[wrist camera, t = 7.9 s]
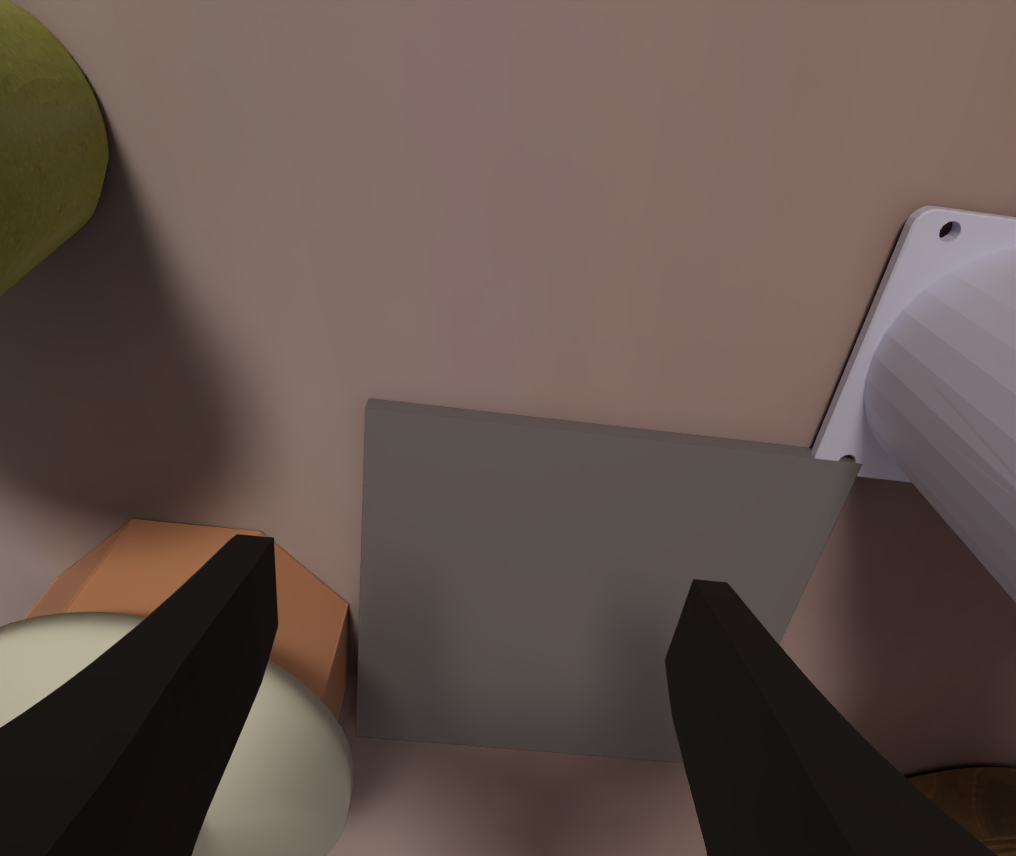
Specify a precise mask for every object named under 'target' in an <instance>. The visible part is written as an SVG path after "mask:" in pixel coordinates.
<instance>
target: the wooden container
mask: <svg viewBox="0 0 1016 856" xmlns="http://www.w3.org/2000/svg"><path fill="white" fill-rule="evenodd" d="M906 779H907V780H909V781H910V782H911V783H912V784H913V785H914V786H915V787H916V788H917V789H918V790H919V791H921V792H922V793H923V794H924V795H925V796H926V797H927V798H929V799H930V800H931V801H932V802H933V803H934V804H935V805H937V806H938V807H939V808H940V809H941V810H942V811H944V812H945V813H946V814H947V815H948V816H950V817H951V818H952V819H953V820H955V821H956V822H957V823H958V824H959V825H961V826H962V827H963V828H964V829H966V830H967V831H968V832H969V833H970V834H972V835H973V836H974V837H975V838H976V839H978V840H979V841H980V842H981V843H983V844H984V845H985V846H986V847H987V848H989V849H990V850H991V851H993V852H994V853H995V854H996V855H998V856H1016V768H1006V767H973V768H961V769H952V770H944V771H938V772H933V773H928V774H923V775H918V776H914V777H910V778H906Z"/></svg>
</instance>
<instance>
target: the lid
mask: <svg viewBox="0 0 1016 856" xmlns="http://www.w3.org/2000/svg"><path fill="white" fill-rule="evenodd" d="M145 618H146V617H145V616H139V615H132V614H124V613H108V612H69V613H58V614H51V615H43V616H36V617H32V618H28V619H24V620H20V621H16V622H12V623H9V624H7V625H4V626H2V627H0V727H2V726H3V725H5V724H7V723H8V722H10V721H11V720H13V719H14V718H16V717H17V716H19V715H20V714H22V713H23V712H25V711H26V710H28V709H29V708H30V707H32V706H33V705H35V704H36V703H38V702H39V701H40V700H42V699H43V698H45V697H46V696H47V695H49V694H50V693H52V692H53V691H55V690H56V689H57V688H59V687H60V686H61V685H63V684H64V683H65V682H67V681H68V680H69V679H71V678H72V677H73V676H75V675H76V674H77V673H79V672H80V671H81V670H83V669H84V668H85V667H87V666H88V665H89V664H90V663H92V662H93V661H94V660H95V659H97V658H98V657H99V656H100V655H102V654H103V653H104V652H105V651H107V650H108V649H109V648H110V647H111V646H113V645H114V644H115V643H116V642H118V641H119V640H120V639H121V638H122V637H124V636H125V635H126V634H127V633H129V632H130V631H131V630H132V629H133V628H135V627H136V626H137V625H138V624H139V623H140V622H142V621H143V620H144V619H145ZM353 783H354V760H353V756H352V752H351V748H350V745H349V742H348V740H347V738H346V736H345V734H344V731H343V729H342V727H341V726H340V725H339V723H338V722H337V720H336V719H335V717H334V716H333V714H332V713H331V711H330V710H329V709H328V708H327V707H326V706H325V704H324V703H323V702H322V701H321V700H320V699H319V698H318V697H317V696H316V694H314V693H313V692H312V691H311V690H310V689H309V688H307V687H306V686H305V685H304V684H303V683H302V682H301V681H299V680H298V679H297V678H296V677H294V676H293V675H291V674H290V673H288V672H287V671H286V670H284V669H283V668H281V667H280V666H278V665H277V664H275V663H274V662H272V661H270V660H269V661H268V664H267V667H266V671H265V674H264V677H263V681H262V683H261V686H260V688H259V691H258V693H257V696H256V698H255V701H254V703H253V705H252V708H251V710H250V712H249V715H248V717H247V720H246V722H245V724H244V727H243V729H242V732H241V734H240V736H239V739H238V741H237V743H236V746H235V748H234V750H233V753H232V755H231V758H230V760H229V762H228V765H227V767H226V769H225V772H224V774H223V776H222V779H221V781H220V784H219V786H218V788H217V791H216V793H215V795H214V798H213V800H212V802H211V805H210V807H209V809H208V812H207V815H206V817H205V820H204V823H203V825H202V828H201V830H200V833H199V836H198V838H197V841H196V844H195V847H194V850H193V853H192V856H326V855H327V854H328V853H329V852H330V851H331V849H332V848H333V846H334V845H335V844H336V842H337V841H338V839H339V838H340V836H341V833H342V831H343V829H344V826H345V824H346V819H347V814H348V809H349V804H350V799H351V794H352V789H353Z"/></svg>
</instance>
